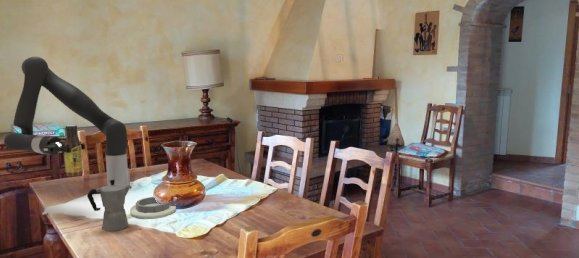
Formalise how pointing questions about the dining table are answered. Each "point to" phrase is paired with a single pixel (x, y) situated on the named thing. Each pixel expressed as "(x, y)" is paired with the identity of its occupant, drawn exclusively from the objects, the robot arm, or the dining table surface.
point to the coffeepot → (112, 205)
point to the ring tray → (151, 215)
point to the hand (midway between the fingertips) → (77, 148)
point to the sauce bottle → (73, 153)
